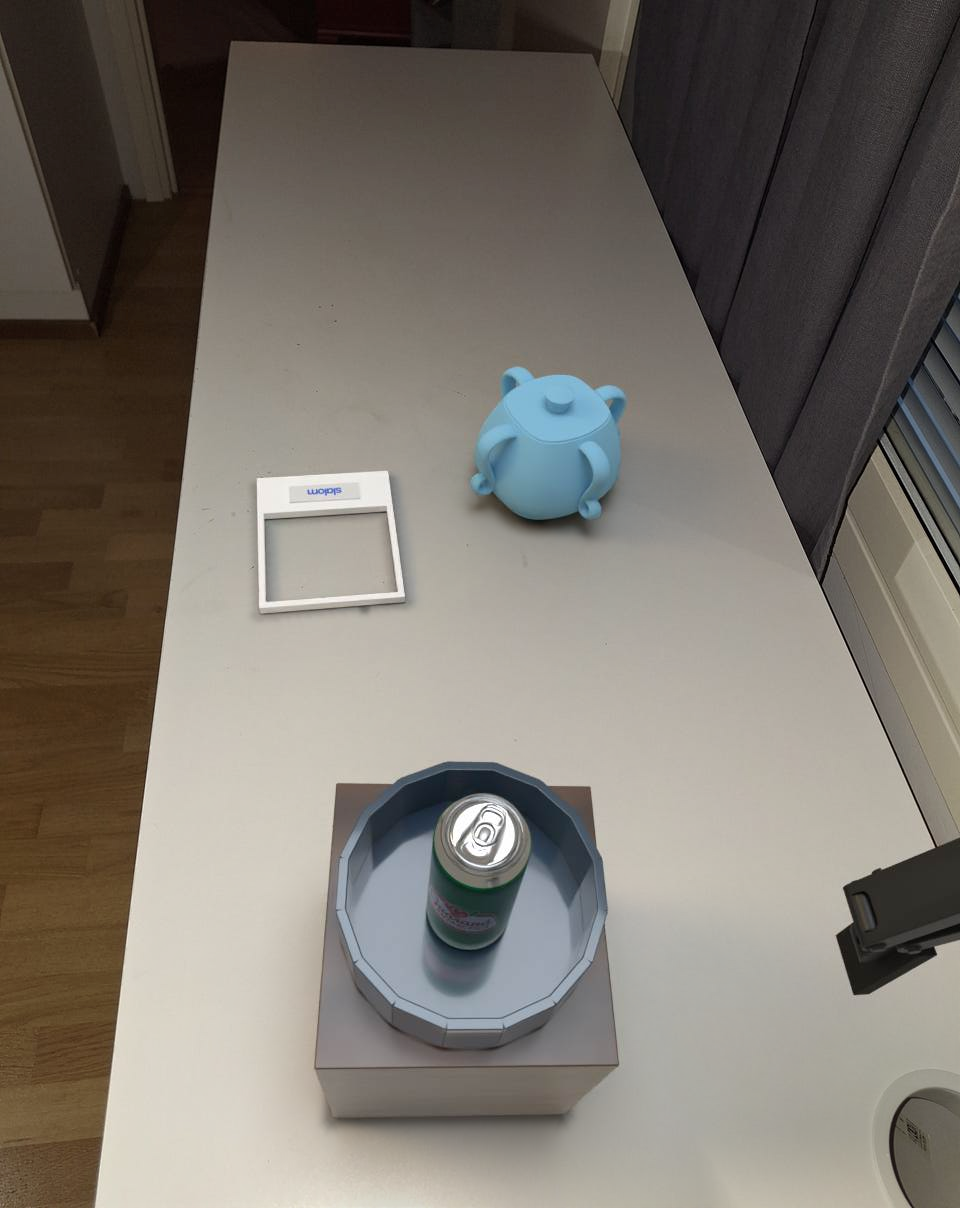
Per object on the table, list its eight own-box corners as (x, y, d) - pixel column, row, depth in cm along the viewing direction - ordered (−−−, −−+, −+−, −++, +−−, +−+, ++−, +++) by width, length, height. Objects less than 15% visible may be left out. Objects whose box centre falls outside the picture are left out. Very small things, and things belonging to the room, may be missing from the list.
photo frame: (387, 469, 103) (404, 595, 92) (387, 476, 103) (404, 601, 93) (256, 477, 100) (258, 607, 90) (257, 484, 101) (260, 613, 91)
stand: (564, 1114, 67) (619, 1065, 51) (333, 1117, 65) (313, 1069, 49) (549, 886, 77) (590, 785, 61) (348, 885, 75) (336, 782, 59)
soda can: (411, 928, 54) (415, 853, 44) (449, 854, 56) (461, 770, 47) (488, 968, 53) (509, 901, 43) (522, 891, 55) (550, 812, 46)
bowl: (602, 1048, 51) (620, 1028, 47) (331, 1051, 50) (326, 1031, 46) (578, 798, 60) (592, 763, 56) (348, 795, 59) (345, 759, 55)
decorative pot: (589, 554, 99) (614, 466, 88) (453, 509, 101) (461, 418, 90) (626, 459, 109) (653, 368, 98) (500, 419, 111) (513, 327, 100)
